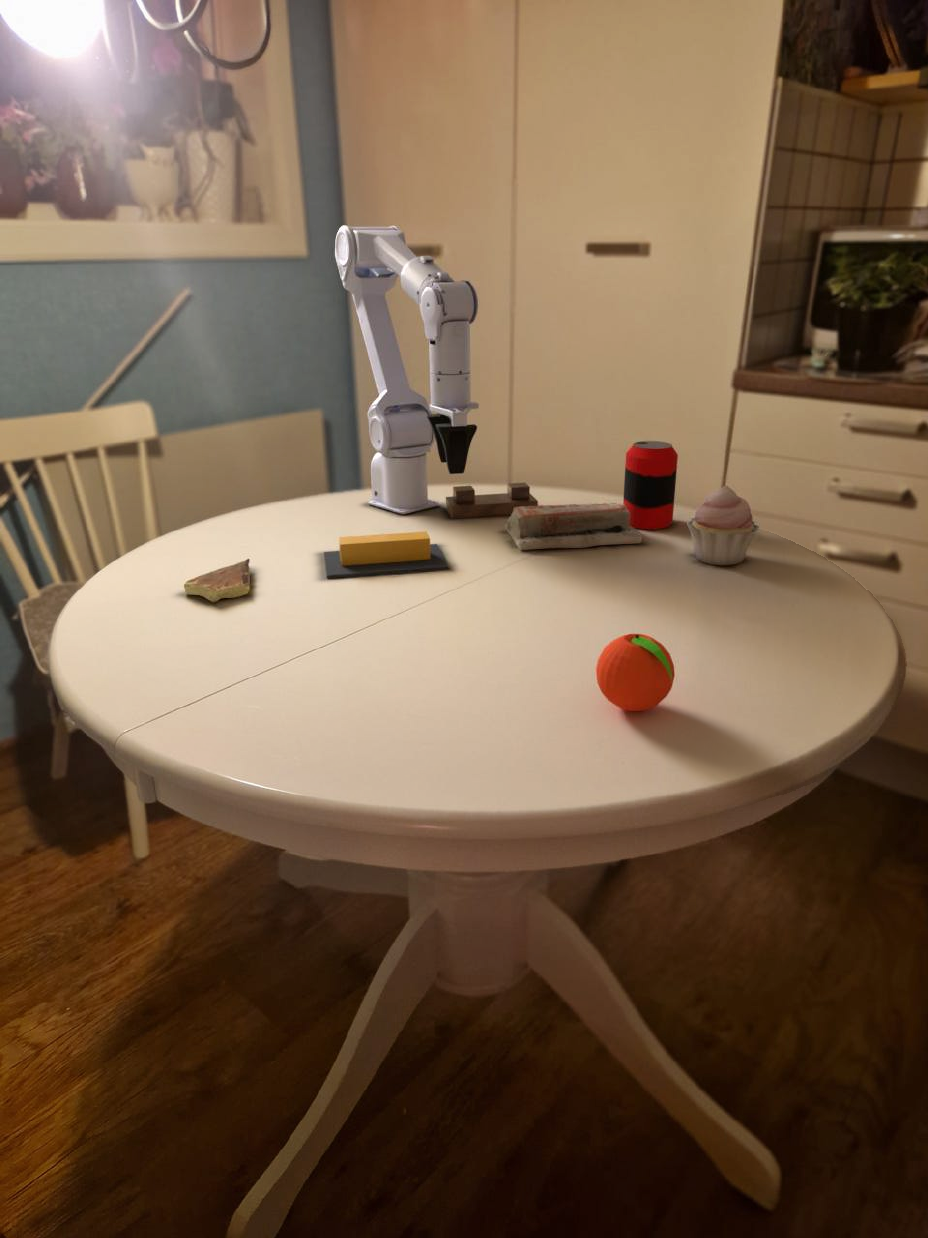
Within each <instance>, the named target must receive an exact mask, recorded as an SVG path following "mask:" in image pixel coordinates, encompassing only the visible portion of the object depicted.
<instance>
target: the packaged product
mask: <svg viewBox="0 0 928 1238" xmlns="http://www.w3.org/2000/svg"><path fill="white" fill-rule="evenodd" d="M629 523H630V512H629V511H628V510H627V508H626V506H625V505H623V504H620V503H615V502H614V503H613V502H609V503H605V502H604V503H603V502H602V503H580V504H577V503H574V504H571V503H570V504H546V505H545V504H544V505H538V506H520V507H515V508H514V509H513V513H512V514H511V515H510V516H509V518H508V523H506V524H505V528H506V531H507V533H508V534H509V536H510V537H511V539H512V540H513V542H514V544H515V545H516V546H517V548H518V549H519V551H527V550H528V551H529V550H543V549H547V550H548V549H582V548H583V549H584V548H589V547H594V546H606V545H607V546H609V545H628V544H641V542H642V538H643V533H642V532H641V531H640V530H639V529H638V528H633V527H632V526H630V525H629Z"/></svg>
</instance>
